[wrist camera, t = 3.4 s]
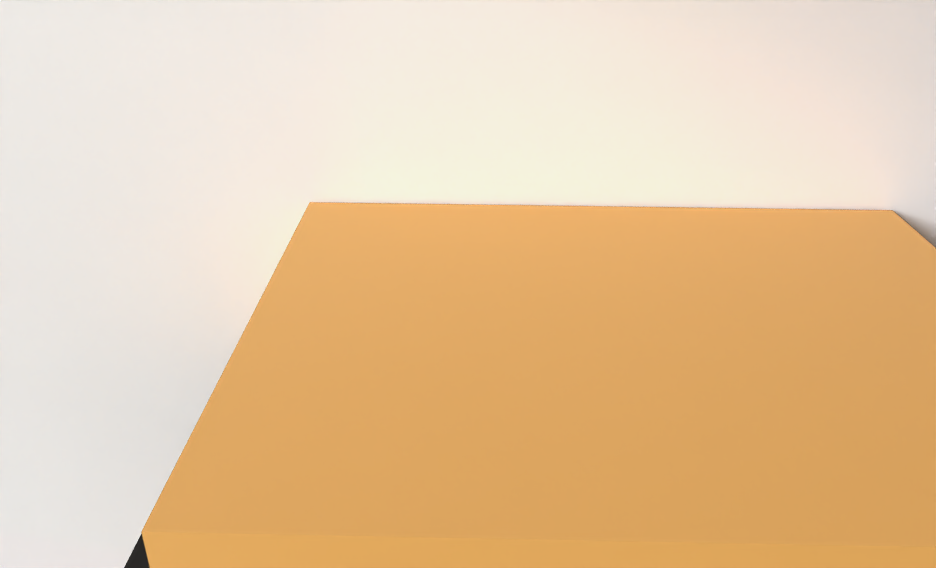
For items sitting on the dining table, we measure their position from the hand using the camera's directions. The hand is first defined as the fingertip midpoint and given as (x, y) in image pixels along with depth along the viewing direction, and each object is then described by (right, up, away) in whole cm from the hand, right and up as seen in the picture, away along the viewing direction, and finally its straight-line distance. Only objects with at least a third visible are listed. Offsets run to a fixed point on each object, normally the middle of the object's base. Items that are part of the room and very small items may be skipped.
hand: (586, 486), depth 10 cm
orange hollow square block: (0, 0, +1) cm, 1 cm away
